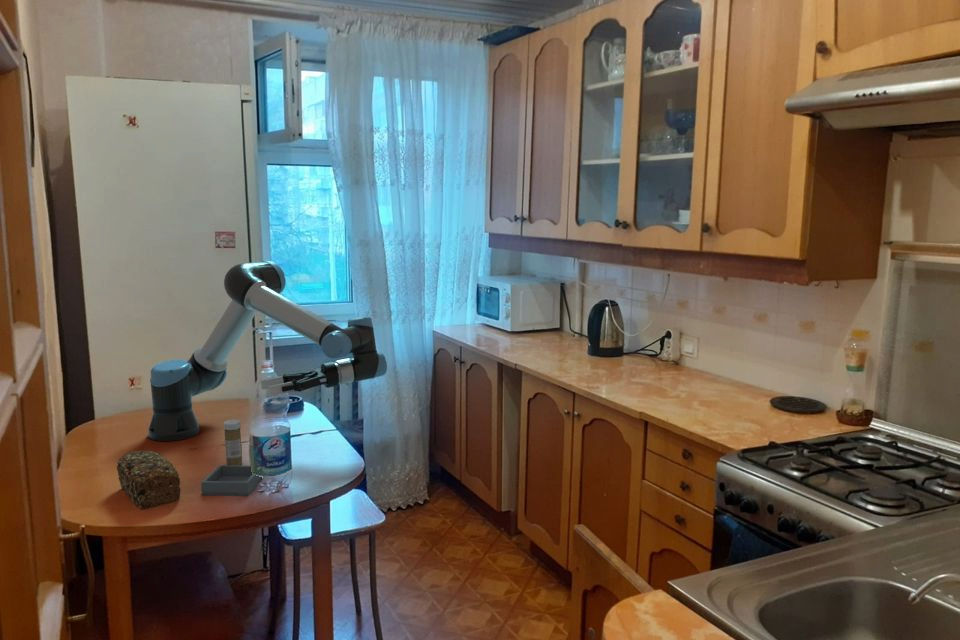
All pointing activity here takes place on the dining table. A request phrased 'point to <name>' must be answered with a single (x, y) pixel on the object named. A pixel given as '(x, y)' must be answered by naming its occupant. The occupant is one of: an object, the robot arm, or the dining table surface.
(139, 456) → the bread
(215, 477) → the tray
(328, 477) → the dining table surface
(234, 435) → the sprinkles bottle
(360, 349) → the robot arm
